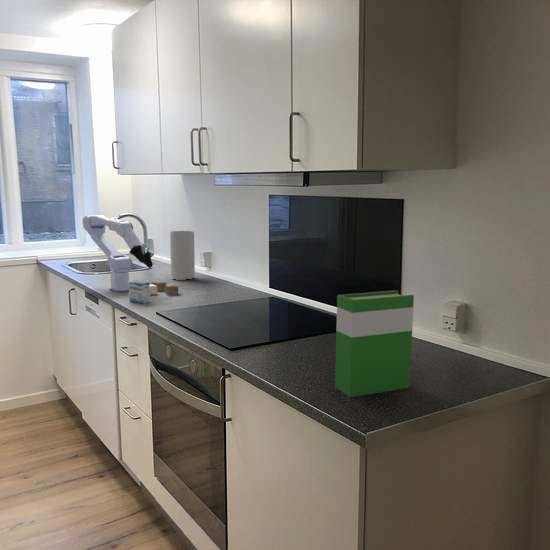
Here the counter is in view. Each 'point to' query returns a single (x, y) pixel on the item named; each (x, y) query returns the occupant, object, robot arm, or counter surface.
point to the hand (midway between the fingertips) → (147, 264)
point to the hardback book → (373, 342)
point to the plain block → (153, 289)
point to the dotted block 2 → (171, 289)
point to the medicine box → (139, 292)
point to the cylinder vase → (182, 255)
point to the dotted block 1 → (159, 285)
